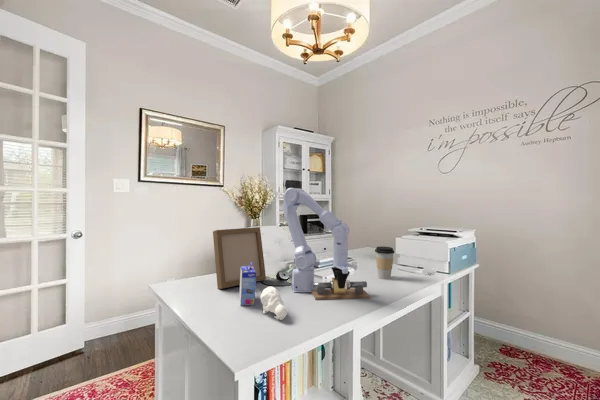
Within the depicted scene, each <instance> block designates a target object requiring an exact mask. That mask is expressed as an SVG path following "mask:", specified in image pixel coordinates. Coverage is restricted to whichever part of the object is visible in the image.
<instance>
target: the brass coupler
mask: <svg viewBox="0 0 600 400" xmlns="http://www.w3.org/2000/svg"><path fill="white" fill-rule="evenodd" d="M331 281H333V282H334V290H332V292H333V294H346V289H347V288H346V283H345V287H344V288H342V289H339V287H338V280H337V278H335V277H331Z"/></svg>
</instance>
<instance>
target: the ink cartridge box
mask: <svg viewBox="0 0 600 400" xmlns="http://www.w3.org/2000/svg"><path fill="white" fill-rule="evenodd" d="M252 264H253V263H252V262H251V263H250V265H251V266H250V265H249V266H243V267H241V271H240V285H239V296H238V297H239V303H240V306H244V307H245V306H255V305H256V283H257V281H256V271H255V269H254V266H252Z"/></svg>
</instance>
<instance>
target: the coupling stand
mask: <svg viewBox="0 0 600 400" xmlns="http://www.w3.org/2000/svg"><path fill="white" fill-rule="evenodd" d="M367 287H368V283H367V281H366V280H365V281H350V280H348V279H346V294H333V292H332V290H334V282H333V281H332V280H330V281H328V282H325V281H324V282H314V283H313V289H316V290H311V291H312V292H311V294H312V296H313V298H314V300H316V301H320V300H322V301H325V300H344V299H345V300H348V299H349V300H352V299H370V298H371V295H370V294H369V293H368V292H367V291H366V290H365V289H364V288H367Z"/></svg>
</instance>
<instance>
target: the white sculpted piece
mask: <svg viewBox="0 0 600 400" xmlns="http://www.w3.org/2000/svg"><path fill="white" fill-rule="evenodd" d="M259 298H260V303H261V304H262V314H263V315H266V314H267V313H268V312H271V313H274V315H276V316H274V318H275V321H276V320H280V321H281V322H282V321H283V320H284V318H286V316H287V315H288V309H287V308H286V307H285V305H284V304H285V303H284V300H283V299H282V297H281V294H280V291H279V290H278V289H277V288H275V287H274V286H267V287H266V288H264V289H263V290H262V292H261V294H260V297H259Z"/></svg>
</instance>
